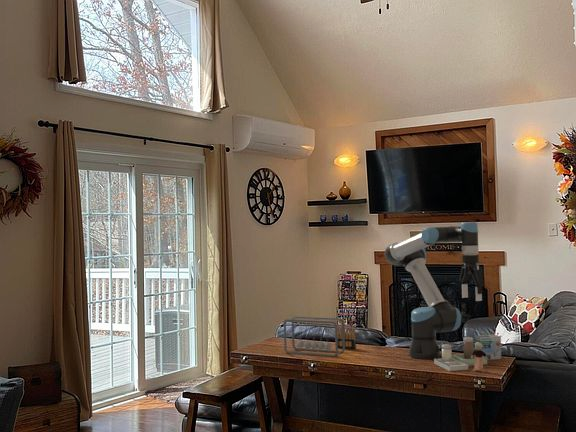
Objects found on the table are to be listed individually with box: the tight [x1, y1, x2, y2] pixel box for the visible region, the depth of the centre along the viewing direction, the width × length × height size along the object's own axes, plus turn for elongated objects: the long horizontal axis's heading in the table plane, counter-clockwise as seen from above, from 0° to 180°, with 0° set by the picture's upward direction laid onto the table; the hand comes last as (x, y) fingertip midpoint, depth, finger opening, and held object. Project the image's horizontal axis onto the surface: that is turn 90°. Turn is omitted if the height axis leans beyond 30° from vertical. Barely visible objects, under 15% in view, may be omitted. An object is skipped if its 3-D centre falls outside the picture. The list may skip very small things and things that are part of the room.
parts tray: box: [452, 353, 488, 367], centre depth 294 cm, size 12×12×3 cm
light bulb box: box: [474, 333, 502, 361], centre depth 303 cm, size 11×7×11 cm, turn 103°
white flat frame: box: [433, 358, 469, 372], centre depth 288 cm, size 16×9×3 cm, turn 11°
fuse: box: [441, 343, 453, 362], centre depth 292 cm, size 4×4×9 cm
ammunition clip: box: [337, 325, 357, 350], centre depth 337 cm, size 11×2×12 cm, turn 63°
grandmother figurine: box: [471, 342, 489, 372], centre depth 278 cm, size 8×4×13 cm, turn 60°
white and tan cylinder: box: [462, 336, 475, 359], centre depth 294 cm, size 4×4×11 cm
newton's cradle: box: [283, 316, 346, 358], centre depth 327 cm, size 30×10×18 cm, turn 63°
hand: (471, 299), depth 300 cm, fingers open, 13 cm apart
